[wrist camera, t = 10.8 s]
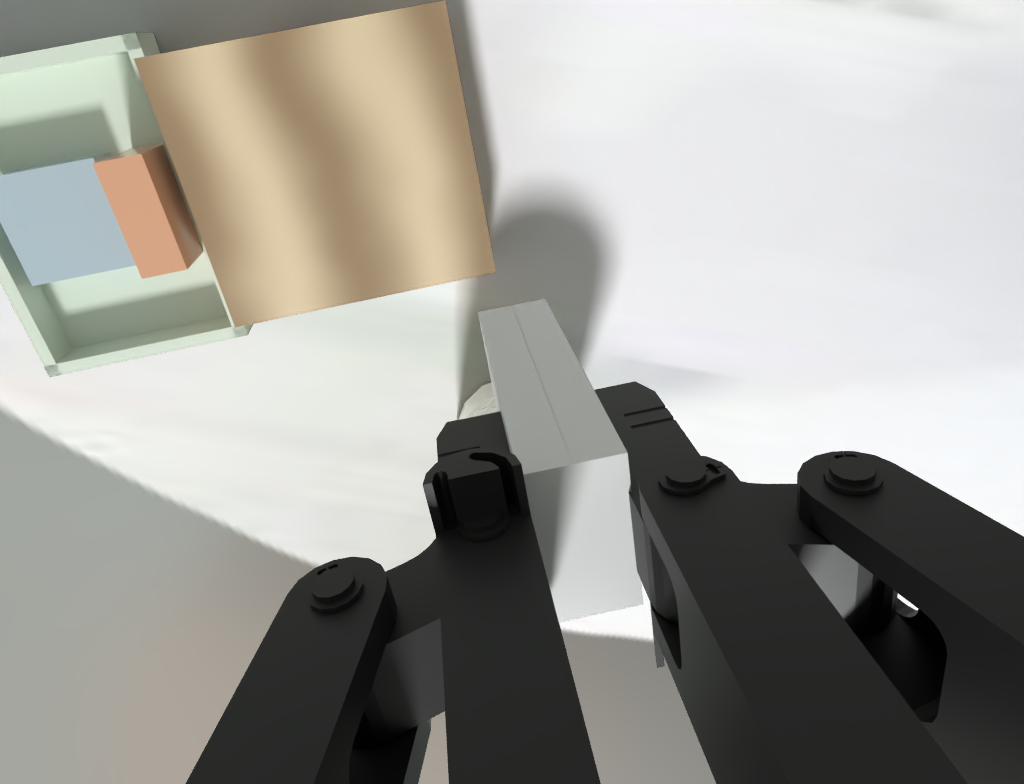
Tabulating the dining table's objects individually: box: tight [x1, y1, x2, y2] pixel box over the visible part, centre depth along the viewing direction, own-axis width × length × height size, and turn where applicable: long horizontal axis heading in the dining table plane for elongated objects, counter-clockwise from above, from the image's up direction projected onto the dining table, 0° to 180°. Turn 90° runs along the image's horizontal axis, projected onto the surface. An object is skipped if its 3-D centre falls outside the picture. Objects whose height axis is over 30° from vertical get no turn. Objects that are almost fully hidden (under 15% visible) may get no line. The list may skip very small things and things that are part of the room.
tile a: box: [92, 142, 203, 279], centre depth 32 cm, size 5×5×2 cm
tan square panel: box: [134, 0, 496, 327], centre depth 34 cm, size 13×12×4 cm
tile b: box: [0, 152, 136, 286], centre depth 33 cm, size 5×5×2 cm
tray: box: [0, 32, 253, 377], centre depth 34 cm, size 10×14×2 cm
